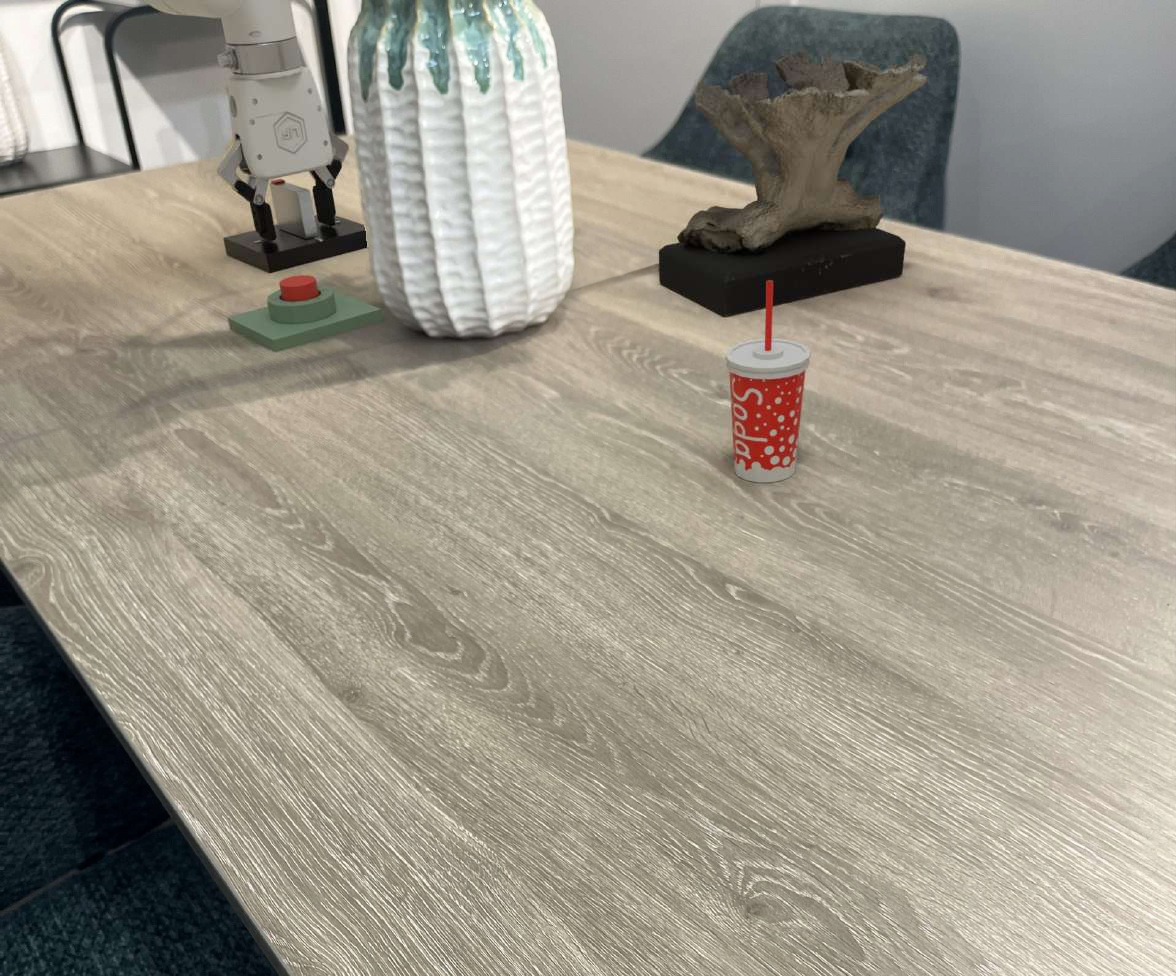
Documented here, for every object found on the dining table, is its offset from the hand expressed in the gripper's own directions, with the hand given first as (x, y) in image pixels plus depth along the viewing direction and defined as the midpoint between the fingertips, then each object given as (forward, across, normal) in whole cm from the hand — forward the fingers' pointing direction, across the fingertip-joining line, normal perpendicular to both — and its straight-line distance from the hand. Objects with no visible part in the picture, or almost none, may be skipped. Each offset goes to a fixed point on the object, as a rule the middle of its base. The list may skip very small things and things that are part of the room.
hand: (297, 230), depth 149 cm
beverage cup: (+3, -3, -81) cm, 81 cm away
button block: (+3, -13, -25) cm, 28 cm away
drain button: (0, -13, -25) cm, 28 cm away
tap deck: (+3, 0, 0) cm, 3 cm away
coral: (+3, +32, -52) cm, 61 cm away
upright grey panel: (0, 0, 0) cm, 0 cm away
